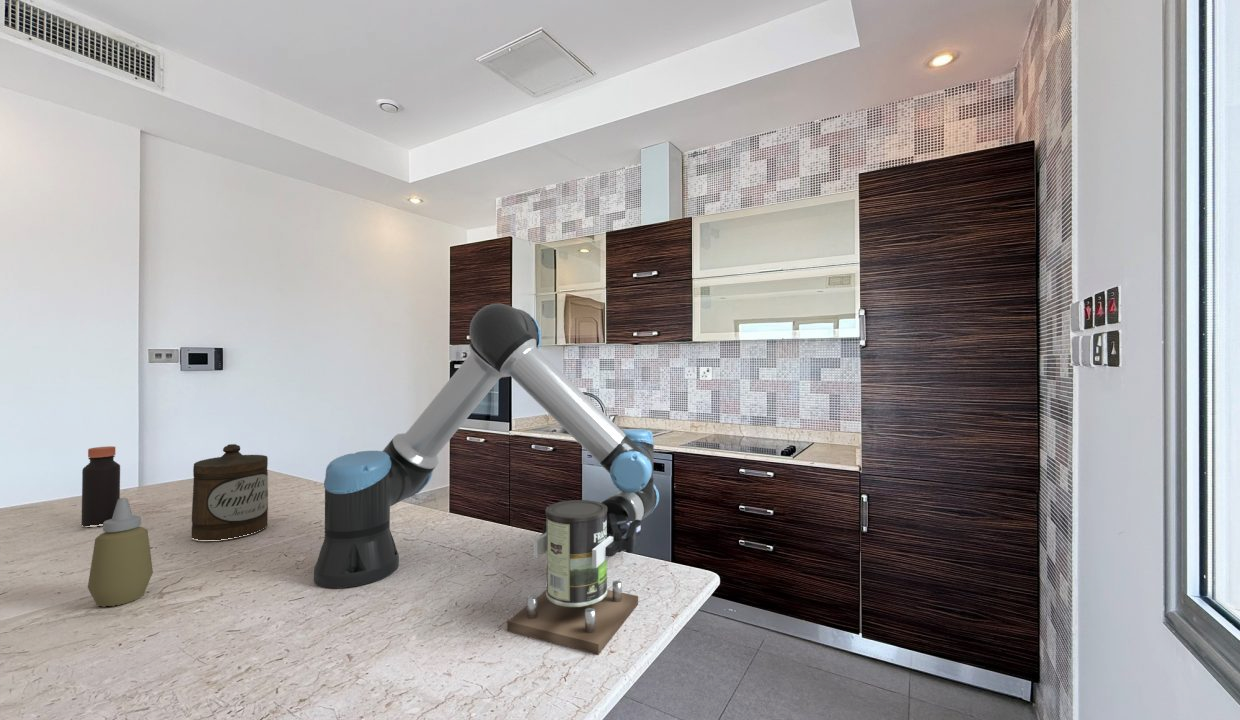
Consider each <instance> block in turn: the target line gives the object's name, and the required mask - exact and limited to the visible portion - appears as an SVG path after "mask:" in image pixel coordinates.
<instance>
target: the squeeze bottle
mask: <svg viewBox="0 0 1240 720" xmlns="http://www.w3.org/2000/svg"><path fill="white" fill-rule="evenodd" d="M141 518H142V517H141V516H140V515H135V514H134V515H133V513H132V509H131V507H130V503H129V500H128V497H120V499H118V501H117V504H116V507H115V510H114V514H113V517H112V519H109V520H107V521H105V522H104V523H103V526H102V531H103V532H102V533H101V534H99V535H97V537H96V538H95V539H94V544H93V551H92V557H91V562H90V563H91V564H90V570H89V576H88V582H87V589H88V590H89V593H90V595H91V597H92V599H93V601H94V602H95V605H96V606H97V605H98V606H97V607H99V606H102V607H101V608H107V607H106V606H112V607H116V606H115V605H117V606H121V604H122V605H125V604H128V603H132V602H133V600H134V601H136V600H139V599H140V598H142V597H143V596H144V594H145V593H146V590H147V588H148V585H149V583H150V581H151V578H152V577H153V574H154V571H153V569H154V568H153V561H152V553H151V549H150V548H151V547H150V546H151V545H150V539H149V531H148V529H147V528H145V527H143V526H141V523H142V522H141V520H142V519H141ZM141 596H142V597H141ZM138 598H139V599H138ZM131 601H132V602H131Z"/></svg>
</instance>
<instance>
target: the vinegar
mask: <svg viewBox="0 0 1240 720" xmlns="http://www.w3.org/2000/svg"><path fill="white" fill-rule="evenodd" d="M87 457H88V460H89V463H88V464H87V465H85V466H84V467H83V468H82V472H81V473H82V475H81V476H82V477H81V478H82V480H81V481H82V482H81V526H82V525H83V526H90V525H99V524H103V523H104V522H105V521H107V520H109V519H112V517H113V514H114V510H115V507H116V504H117V501H118V499H120V498H121V493H120V492H121V465H120V464H119V463H118V462H116V461H115V460H114V458H115V457H116V446H98V447H91V448H88V449H87Z"/></svg>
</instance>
